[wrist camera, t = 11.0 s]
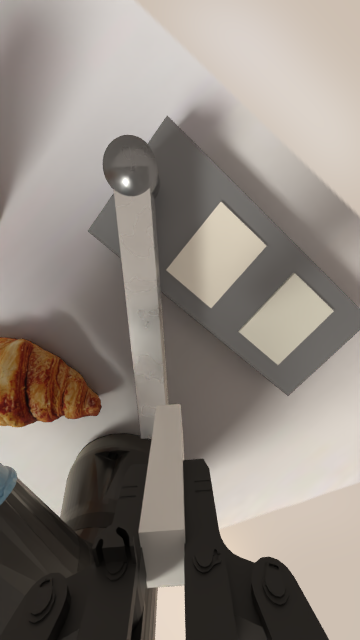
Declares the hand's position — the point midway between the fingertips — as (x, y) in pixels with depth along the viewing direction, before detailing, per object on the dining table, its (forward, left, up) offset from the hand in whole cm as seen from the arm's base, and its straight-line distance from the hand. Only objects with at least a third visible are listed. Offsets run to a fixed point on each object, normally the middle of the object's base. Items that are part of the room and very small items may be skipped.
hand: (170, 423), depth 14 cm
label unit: (+11, 0, -14) cm, 17 cm away
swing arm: (+3, +6, -8) cm, 10 cm away
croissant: (-15, +12, -14) cm, 24 cm away
